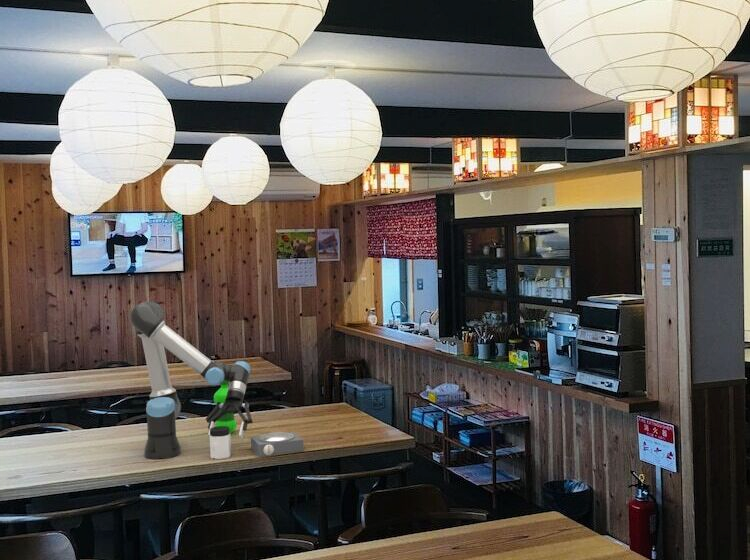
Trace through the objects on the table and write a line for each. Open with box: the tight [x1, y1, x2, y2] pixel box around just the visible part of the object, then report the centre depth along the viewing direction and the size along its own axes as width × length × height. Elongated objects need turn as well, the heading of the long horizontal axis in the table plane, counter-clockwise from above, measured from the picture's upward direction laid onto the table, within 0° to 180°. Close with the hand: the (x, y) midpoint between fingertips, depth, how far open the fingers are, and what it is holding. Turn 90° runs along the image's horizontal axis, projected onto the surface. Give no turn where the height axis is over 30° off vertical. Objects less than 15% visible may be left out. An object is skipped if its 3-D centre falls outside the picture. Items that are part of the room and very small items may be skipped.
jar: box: [209, 426, 232, 460], centre depth 339 cm, size 9×8×12 cm
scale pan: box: [258, 431, 294, 443], centre depth 348 cm, size 15×15×1 cm
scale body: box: [250, 431, 304, 458], centre depth 348 cm, size 19×17×5 cm
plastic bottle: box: [213, 381, 237, 435], centre depth 381 cm, size 10×10×25 cm
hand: (225, 436), depth 341 cm, fingers open, 13 cm apart
